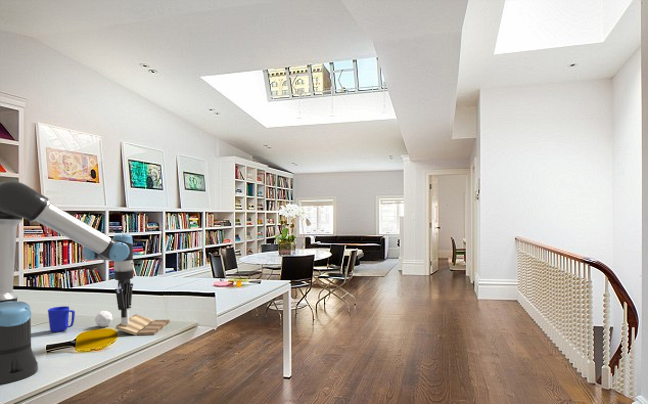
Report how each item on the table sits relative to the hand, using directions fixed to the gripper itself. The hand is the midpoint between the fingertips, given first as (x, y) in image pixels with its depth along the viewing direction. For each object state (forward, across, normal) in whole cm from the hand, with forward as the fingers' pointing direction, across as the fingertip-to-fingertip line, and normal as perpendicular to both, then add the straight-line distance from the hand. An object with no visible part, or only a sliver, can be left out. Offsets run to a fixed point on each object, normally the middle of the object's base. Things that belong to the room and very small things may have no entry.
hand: (125, 324), depth 187 cm
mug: (+4, +8, +31) cm, 33 cm away
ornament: (+4, +13, +15) cm, 20 cm away
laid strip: (+4, +7, -10) cm, 13 cm away
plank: (+3, +7, -1) cm, 7 cm away
